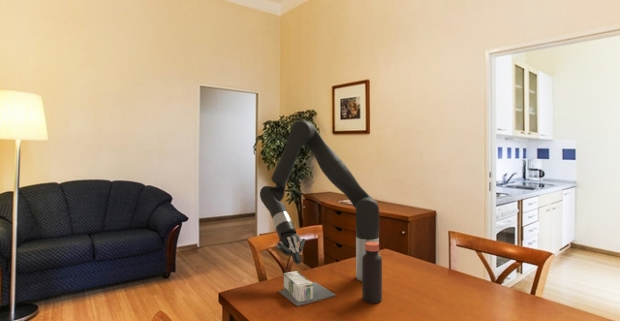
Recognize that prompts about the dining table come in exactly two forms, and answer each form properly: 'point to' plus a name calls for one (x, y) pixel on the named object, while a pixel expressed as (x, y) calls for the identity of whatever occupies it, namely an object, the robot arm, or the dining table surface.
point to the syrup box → (298, 286)
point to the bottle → (372, 273)
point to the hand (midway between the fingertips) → (298, 262)
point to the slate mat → (318, 294)
